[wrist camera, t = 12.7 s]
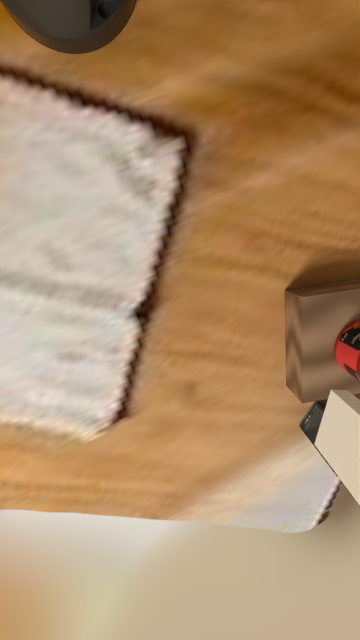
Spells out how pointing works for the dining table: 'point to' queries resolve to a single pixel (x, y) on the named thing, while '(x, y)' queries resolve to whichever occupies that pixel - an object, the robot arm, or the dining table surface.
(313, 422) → the box
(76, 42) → the robot arm
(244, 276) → the dining table surface
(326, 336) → the brown wooden block
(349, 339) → the canned food
